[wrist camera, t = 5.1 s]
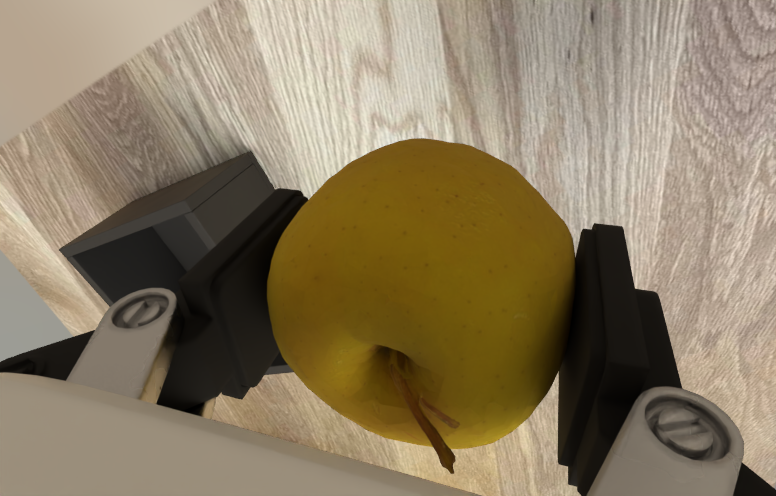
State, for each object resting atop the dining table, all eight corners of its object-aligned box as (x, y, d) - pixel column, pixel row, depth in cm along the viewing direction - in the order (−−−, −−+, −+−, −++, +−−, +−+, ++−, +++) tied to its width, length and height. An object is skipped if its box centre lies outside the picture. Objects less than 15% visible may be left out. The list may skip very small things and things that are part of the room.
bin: (132, 201, 40) (58, 249, 34) (251, 150, 33) (183, 200, 27) (227, 324, 46) (178, 383, 40) (345, 303, 39) (306, 371, 33)
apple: (598, 267, 13) (628, 570, 7) (404, 297, 16) (306, 528, 10) (541, 49, 11) (508, 229, 4) (321, 132, 14) (116, 311, 7)
